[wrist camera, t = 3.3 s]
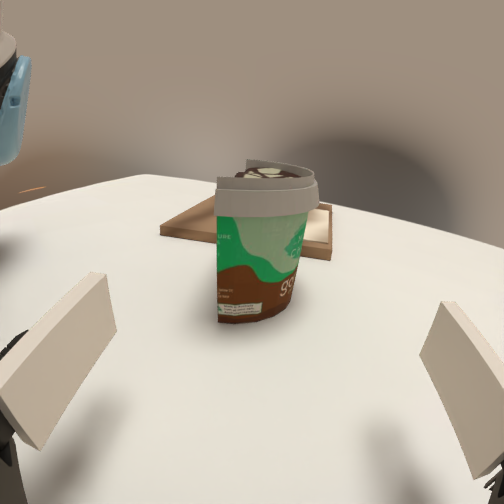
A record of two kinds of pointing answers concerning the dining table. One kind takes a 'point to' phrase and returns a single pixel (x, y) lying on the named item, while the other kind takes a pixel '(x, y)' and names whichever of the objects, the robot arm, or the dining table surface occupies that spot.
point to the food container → (260, 238)
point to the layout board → (205, 228)
